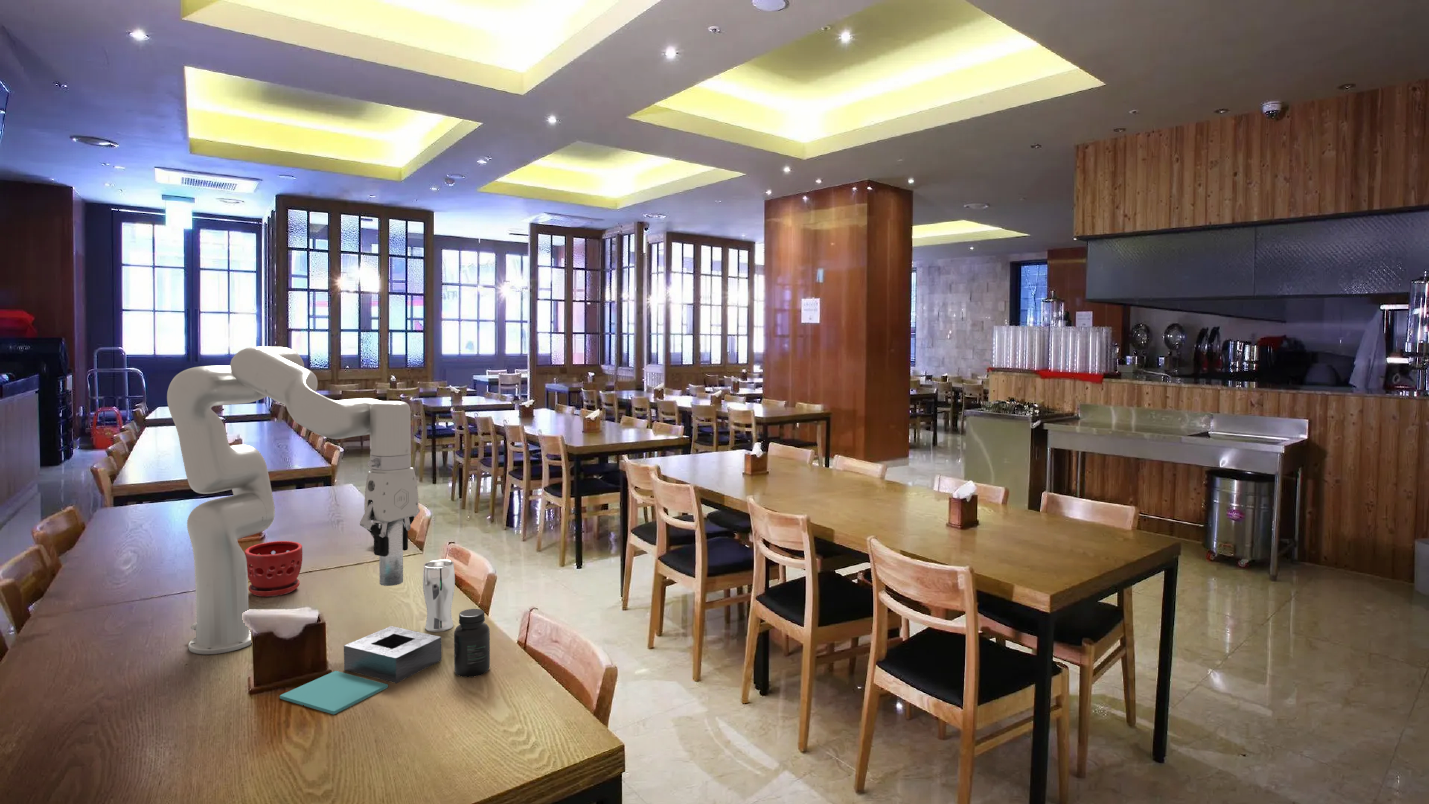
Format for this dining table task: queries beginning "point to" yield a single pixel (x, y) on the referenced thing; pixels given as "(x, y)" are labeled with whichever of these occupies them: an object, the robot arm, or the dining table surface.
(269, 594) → the plant pot
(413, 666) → the block
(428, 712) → the dining table surface
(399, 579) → the steel peg
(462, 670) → the supplement bottle
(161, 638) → the dining table surface
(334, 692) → the teal mat
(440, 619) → the beer glass
